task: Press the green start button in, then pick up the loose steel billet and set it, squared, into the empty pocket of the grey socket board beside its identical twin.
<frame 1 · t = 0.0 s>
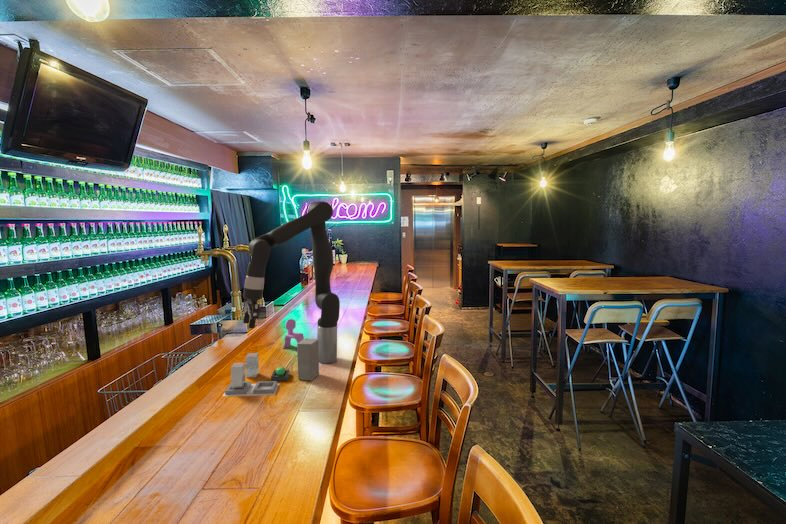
hand: (248, 325, 151), 22 cm above the counter, tool pointing down, fingers open, 8 cm apart
button housing: (280, 380, 152), on the counter
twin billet: (238, 389, 140), point 1 cm above the counter, touching grey socket board
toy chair: (293, 348, 190), on the counter
grey socket board: (252, 391, 141), on the counter
billet: (252, 377, 154), on the counter
start button: (280, 372, 152), point 3 cm above the counter, slide at 0.0 cm
skincare box: (308, 376, 157), on the counter
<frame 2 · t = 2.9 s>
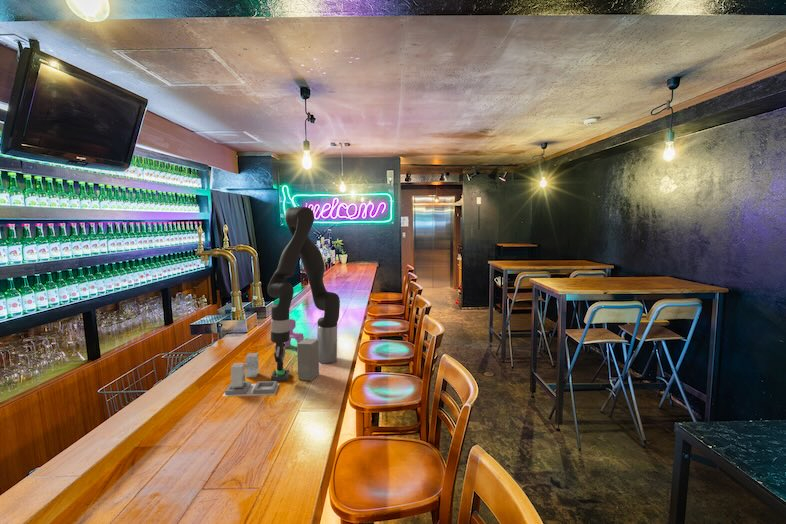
hand: (280, 369, 152), 5 cm above the counter, tool pointing down, fingers closed
start button: (280, 373, 152), point 3 cm above the counter, slide at 0.5 cm, touching gripper
everything else where it was.
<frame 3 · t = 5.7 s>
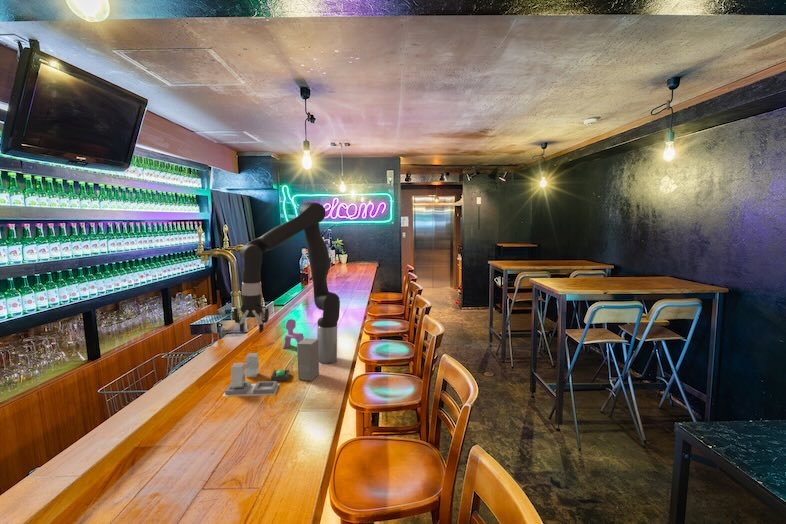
hand: (251, 332, 151), 20 cm above the counter, tool pointing down, fingers open, 6 cm apart
start button: (280, 374, 152), point 2 cm above the counter, slide at 1.2 cm
everything else where it was.
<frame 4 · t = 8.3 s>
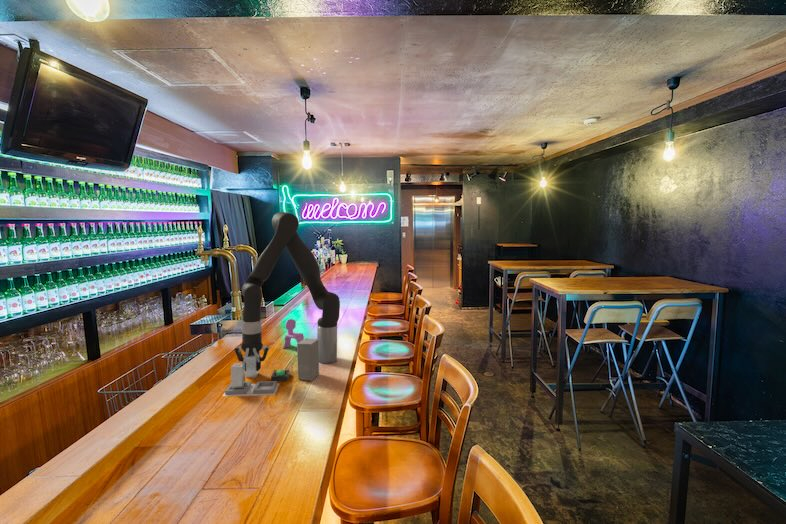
hand: (252, 370, 153), 3 cm above the counter, tool pointing down, fingers closed on billet, 4 cm apart
billet: (252, 377, 154), on the counter, touching gripper
everything else where it was.
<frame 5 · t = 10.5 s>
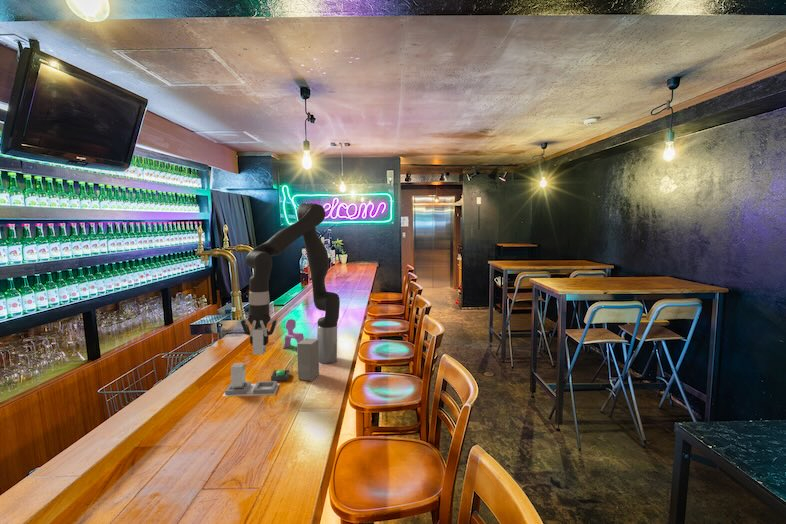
hand: (259, 344, 144), 17 cm above the counter, tool pointing down, fingers closed on billet, 4 cm apart
billet: (259, 352, 144), point 14 cm above the counter, touching gripper
everything else where it was.
when the fingers open (5 cm above the counter, at t = 12.9 s): billet stays where it is, resting on grey socket board.
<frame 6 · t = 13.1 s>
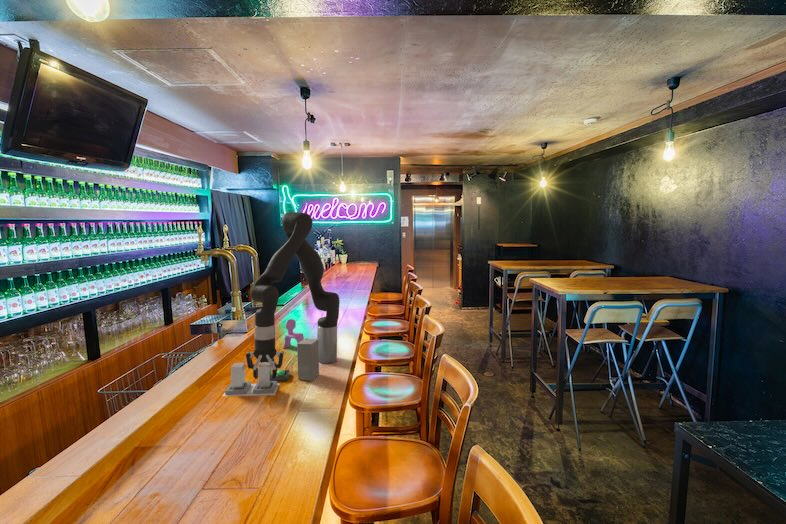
hand: (265, 377, 141), 6 cm above the counter, tool pointing down, fingers open, 6 cm apart
billet: (265, 389, 142), point 1 cm above the counter, touching grey socket board
everything else where it was.
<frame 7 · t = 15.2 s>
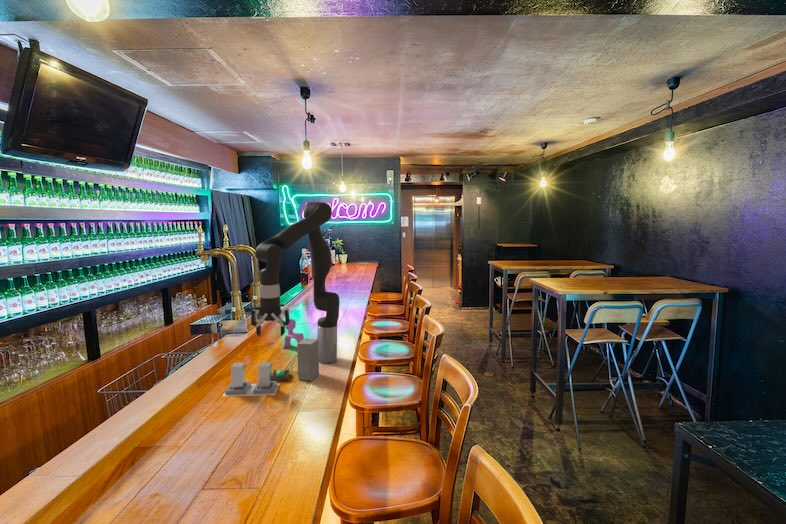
hand: (270, 335, 144), 21 cm above the counter, tool pointing down, fingers open, 8 cm apart
nothing on the counter moved.
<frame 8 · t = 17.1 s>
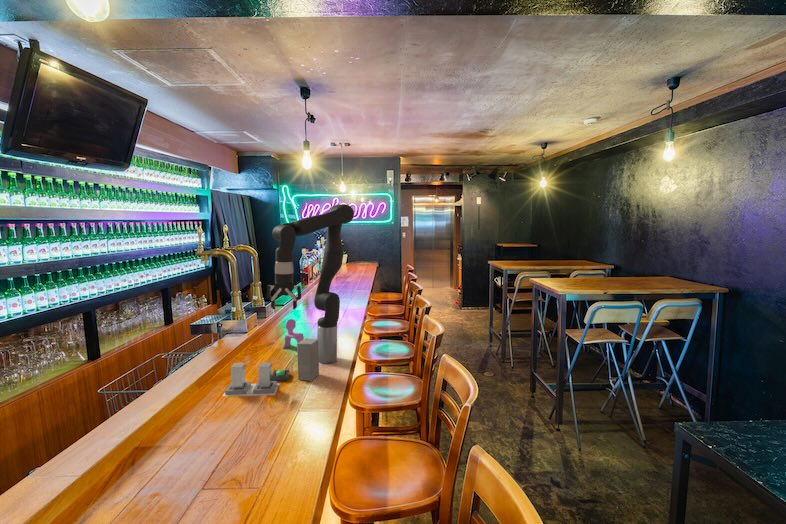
hand: (284, 309, 158), 28 cm above the counter, tool pointing down, fingers open, 8 cm apart
nothing on the counter moved.
at the end: start button slide at 1.2 cm; billet 0.0 cm from the target spot on the grey socket board, point 1.0 cm above the grey socket board's base; billet tilted 0° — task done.
